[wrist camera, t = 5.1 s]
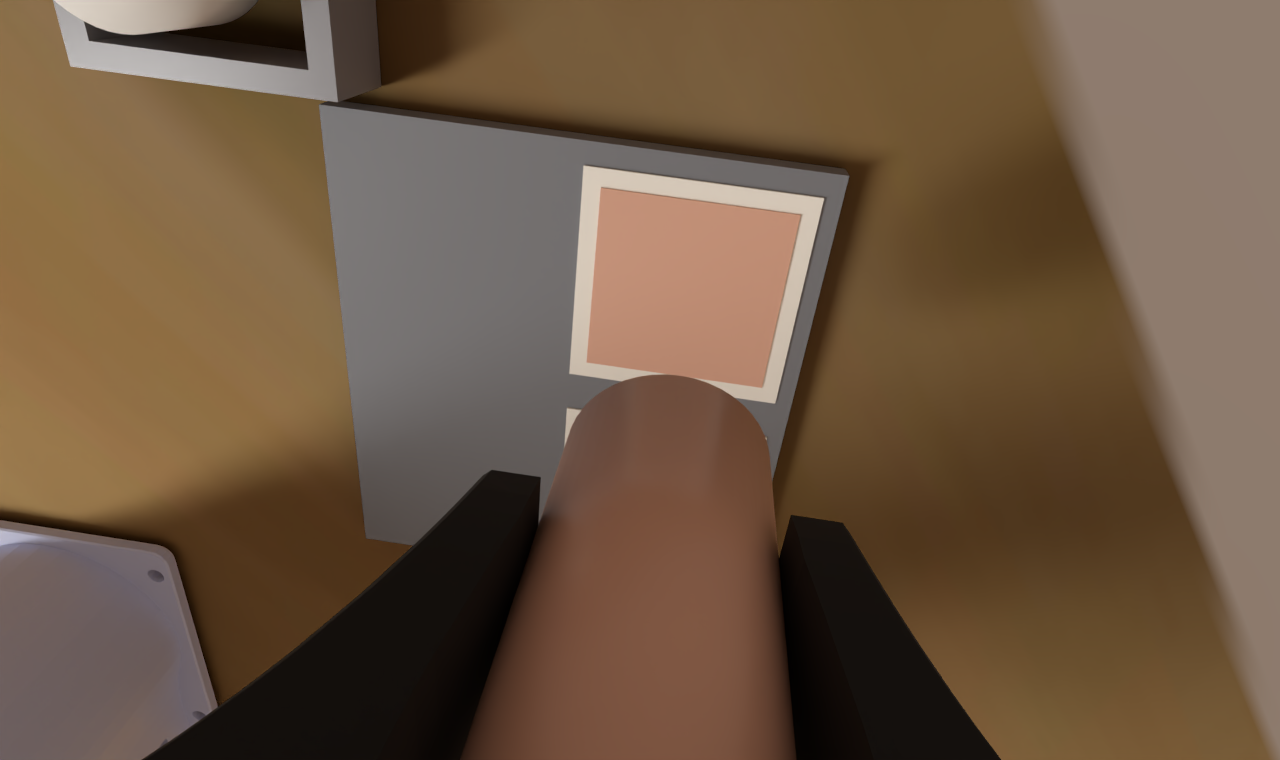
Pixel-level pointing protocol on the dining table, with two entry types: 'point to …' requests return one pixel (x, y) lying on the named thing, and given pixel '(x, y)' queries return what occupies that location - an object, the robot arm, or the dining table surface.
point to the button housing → (246, 54)
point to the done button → (155, 13)
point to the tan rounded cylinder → (648, 593)
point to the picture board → (551, 289)
